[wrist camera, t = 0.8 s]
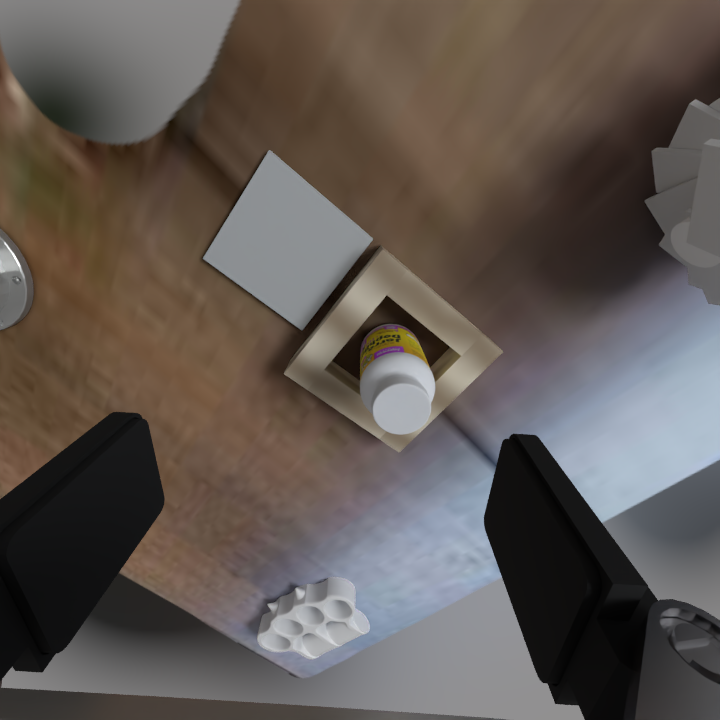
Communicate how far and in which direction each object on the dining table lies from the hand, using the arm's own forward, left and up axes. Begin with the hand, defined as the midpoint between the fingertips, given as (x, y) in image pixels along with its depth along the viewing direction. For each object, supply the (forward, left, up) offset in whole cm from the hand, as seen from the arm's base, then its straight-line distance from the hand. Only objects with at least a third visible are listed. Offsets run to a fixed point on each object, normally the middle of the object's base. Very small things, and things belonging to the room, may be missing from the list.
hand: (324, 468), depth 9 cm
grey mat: (-2, +7, -29) cm, 30 cm away
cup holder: (-4, -8, -29) cm, 31 cm away
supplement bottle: (-4, -8, -30) cm, 31 cm away
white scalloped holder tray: (-46, -28, -30) cm, 61 cm away
